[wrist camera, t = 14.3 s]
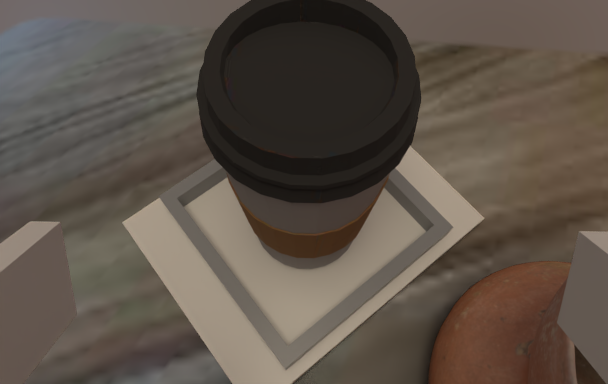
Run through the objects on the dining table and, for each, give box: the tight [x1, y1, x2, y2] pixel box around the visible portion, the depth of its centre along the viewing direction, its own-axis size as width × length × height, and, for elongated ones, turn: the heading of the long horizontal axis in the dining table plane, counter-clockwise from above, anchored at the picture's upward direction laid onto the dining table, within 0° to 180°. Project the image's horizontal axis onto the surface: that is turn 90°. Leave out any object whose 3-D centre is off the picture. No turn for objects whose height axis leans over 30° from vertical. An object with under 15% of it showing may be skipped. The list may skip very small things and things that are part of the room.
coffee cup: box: [197, 0, 421, 269], centre depth 23 cm, size 8×8×15 cm
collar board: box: [122, 146, 484, 384], centre depth 30 cm, size 14×18×2 cm
